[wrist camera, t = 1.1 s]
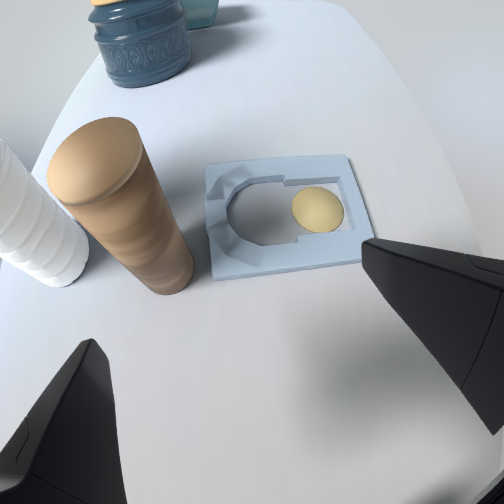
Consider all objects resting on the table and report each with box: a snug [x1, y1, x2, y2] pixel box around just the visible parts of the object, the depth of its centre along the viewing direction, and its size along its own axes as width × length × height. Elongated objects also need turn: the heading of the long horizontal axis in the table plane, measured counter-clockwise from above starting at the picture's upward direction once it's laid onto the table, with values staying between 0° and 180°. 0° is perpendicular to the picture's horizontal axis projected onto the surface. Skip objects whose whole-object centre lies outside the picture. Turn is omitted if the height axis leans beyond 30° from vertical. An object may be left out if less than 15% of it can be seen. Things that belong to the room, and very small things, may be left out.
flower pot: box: [181, 0, 219, 29], centre depth 38 cm, size 9×9×9 cm
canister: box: [88, 0, 191, 88], centre depth 28 cm, size 13×13×18 cm
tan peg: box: [47, 117, 194, 295], centre depth 17 cm, size 5×5×14 cm
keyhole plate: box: [204, 155, 375, 281], centre depth 26 cm, size 14×11×1 cm
